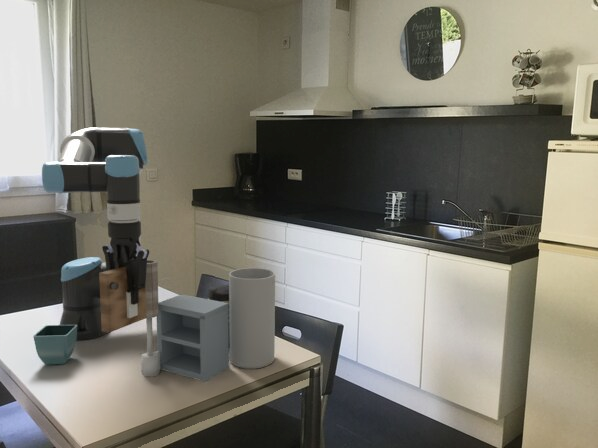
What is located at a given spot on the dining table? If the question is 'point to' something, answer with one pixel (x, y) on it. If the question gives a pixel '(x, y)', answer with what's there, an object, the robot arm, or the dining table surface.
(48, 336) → the flower pot
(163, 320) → the cabinet
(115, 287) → the brown panel with tube
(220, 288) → the coffee jar
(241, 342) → the cylinder vase
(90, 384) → the dining table surface
